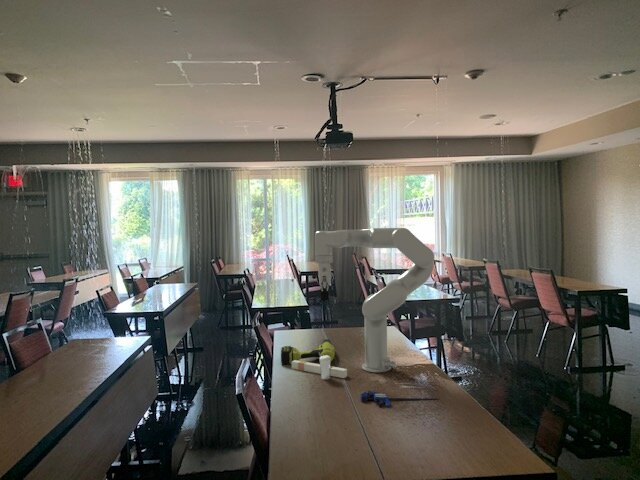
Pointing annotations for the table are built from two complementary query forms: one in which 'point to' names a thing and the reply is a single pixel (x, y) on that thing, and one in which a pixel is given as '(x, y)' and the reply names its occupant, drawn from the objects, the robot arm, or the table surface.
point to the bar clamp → (382, 398)
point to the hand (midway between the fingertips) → (324, 298)
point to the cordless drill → (306, 353)
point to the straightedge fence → (318, 368)
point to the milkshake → (325, 366)
